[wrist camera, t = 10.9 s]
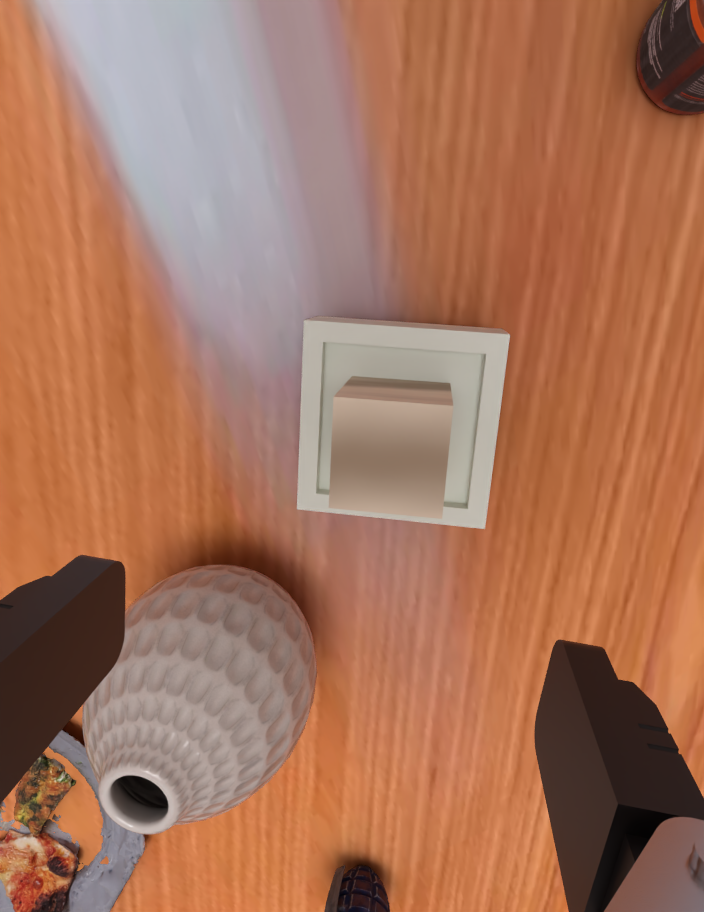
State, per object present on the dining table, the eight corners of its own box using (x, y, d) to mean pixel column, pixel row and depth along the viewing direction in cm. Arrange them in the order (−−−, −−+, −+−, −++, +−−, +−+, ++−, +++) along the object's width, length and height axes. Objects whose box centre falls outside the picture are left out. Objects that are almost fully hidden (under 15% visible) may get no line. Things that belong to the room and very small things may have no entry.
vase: (304, 514, 41) (222, 660, 25) (354, 677, 44) (308, 899, 28) (134, 550, 44) (-38, 704, 28) (192, 702, 47) (67, 920, 31)
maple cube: (352, 376, 32) (333, 396, 26) (450, 382, 31) (453, 405, 25) (347, 468, 33) (328, 508, 27) (440, 477, 32) (442, 518, 27)
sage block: (317, 315, 34) (303, 320, 30) (502, 328, 33) (510, 334, 29) (310, 486, 37) (296, 509, 33) (479, 503, 36) (484, 529, 32)
